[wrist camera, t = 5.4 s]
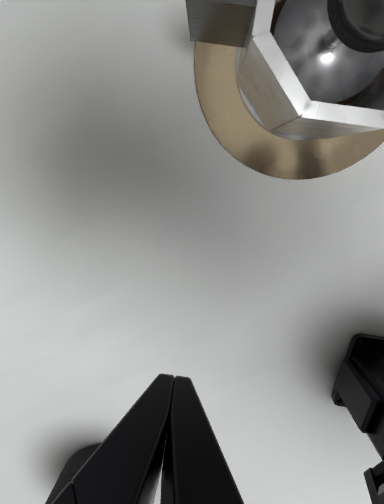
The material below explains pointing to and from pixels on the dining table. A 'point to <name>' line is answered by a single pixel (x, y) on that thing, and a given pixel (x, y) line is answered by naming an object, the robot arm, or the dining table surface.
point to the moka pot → (274, 96)
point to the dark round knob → (332, 45)
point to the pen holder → (71, 471)
